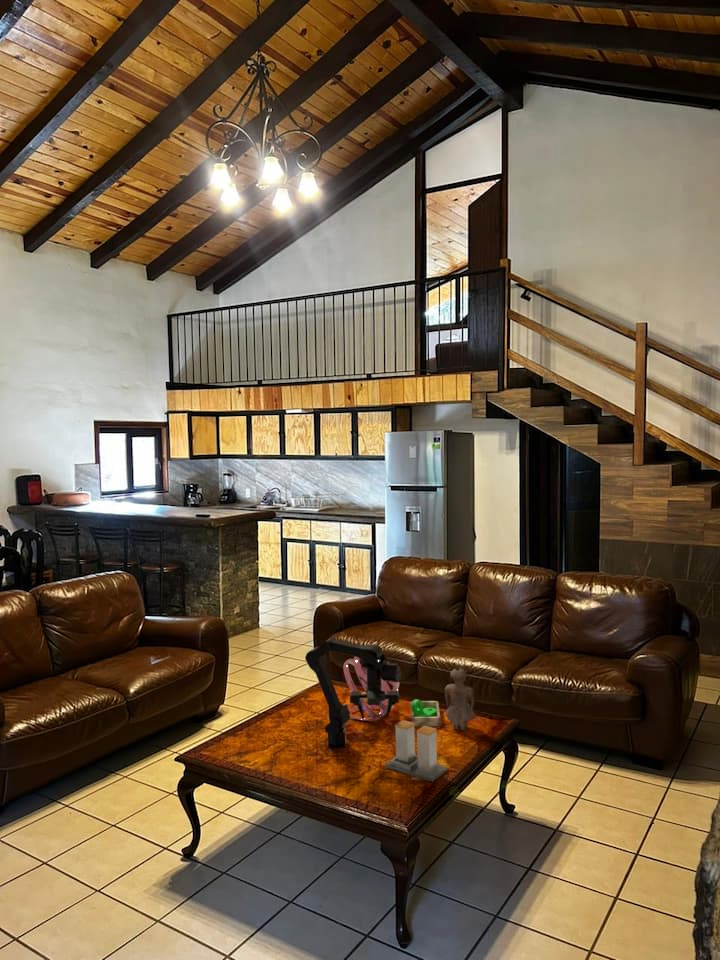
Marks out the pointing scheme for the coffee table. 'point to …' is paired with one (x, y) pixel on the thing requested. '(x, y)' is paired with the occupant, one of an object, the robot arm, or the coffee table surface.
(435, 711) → the mechanical part
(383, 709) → the spiral basket
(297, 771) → the coffee table surface
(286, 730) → the coffee table surface
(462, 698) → the clay figurine
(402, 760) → the post
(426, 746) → the housing
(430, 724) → the parts corral
